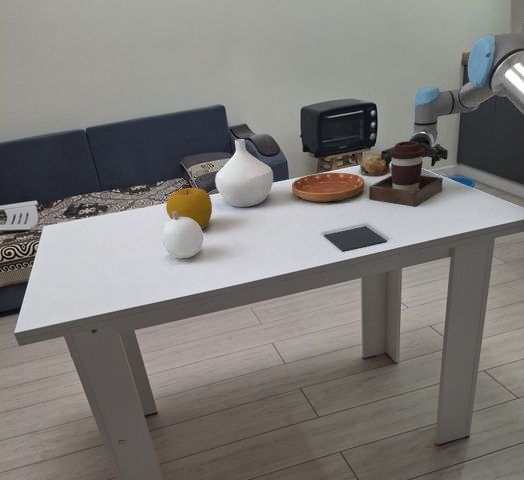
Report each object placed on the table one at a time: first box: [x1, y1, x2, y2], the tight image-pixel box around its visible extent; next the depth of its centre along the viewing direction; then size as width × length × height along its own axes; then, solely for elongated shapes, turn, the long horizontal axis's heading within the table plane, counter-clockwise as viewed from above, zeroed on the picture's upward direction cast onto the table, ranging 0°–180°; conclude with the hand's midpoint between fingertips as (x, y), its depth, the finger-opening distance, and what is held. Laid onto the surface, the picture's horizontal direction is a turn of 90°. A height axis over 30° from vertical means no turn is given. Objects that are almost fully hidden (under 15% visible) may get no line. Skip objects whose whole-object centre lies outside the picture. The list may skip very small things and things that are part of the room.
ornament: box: [161, 211, 204, 259], centre depth 136 cm, size 10×10×12 cm
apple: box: [165, 187, 213, 230], centre depth 154 cm, size 13×13×11 cm
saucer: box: [291, 172, 366, 203], centre depth 171 cm, size 23×23×4 cm
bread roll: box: [359, 153, 391, 177], centre depth 185 cm, size 10×10×8 cm
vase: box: [214, 138, 274, 208], centre depth 168 cm, size 18×18×19 cm
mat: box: [323, 225, 388, 253], centre depth 138 cm, size 12×12×1 cm
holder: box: [368, 174, 444, 208], centre depth 162 cm, size 16×16×4 cm
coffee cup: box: [390, 140, 425, 192], centre depth 159 cm, size 10×10×15 cm
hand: (409, 161), depth 161 cm, fingers open, 13 cm apart
